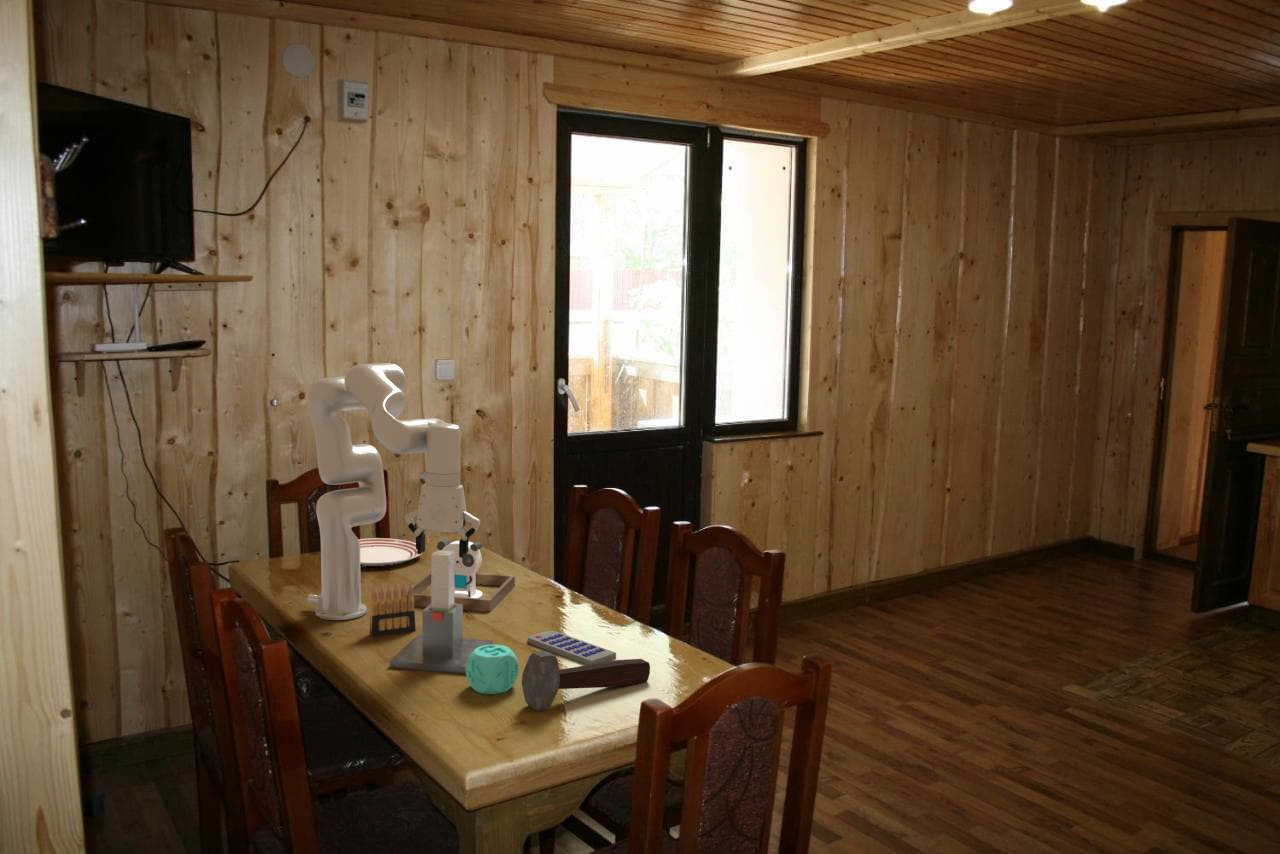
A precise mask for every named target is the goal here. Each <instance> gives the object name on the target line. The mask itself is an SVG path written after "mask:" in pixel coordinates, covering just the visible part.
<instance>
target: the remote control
mask: <svg viewBox="0 0 1280 854" xmlns="http://www.w3.org/2000/svg"><path fill="white" fill-rule="evenodd" d="M527 643H529V644H530V645H532V646H535V647H537V648H540V649H543V650H545V651H547V652H550V653H552V654H555V655H556V654H557V655H559V656H561V657H565V658H567V659H571V660H573V661H576V662H578V663H581V664H583V665H591V664H597V663H603V662H609V661H613V660H614V659H615V660H616V658H617V652H615V651H612V650H610V649H607V648H604V647H601V646H598V645H595V644H593V643H589V642H587V641H584V640H581V639H579V638H575V637H573V636H570V635H567V634H564V633H562V632H558V631H555V630H544V631H542V632H539V633H536V634H532V635H529V636H528V637H527Z"/></svg>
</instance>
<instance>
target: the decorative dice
mask: <svg viewBox="0 0 1280 854" xmlns="http://www.w3.org/2000/svg"><path fill="white" fill-rule="evenodd" d="M519 668H520V666H519V661H518V658H517V656H516V654H515V652H514V651H513V650H512V649H511V648H510V647H509V646H506V645H503V644H502V645H501V644H493V645H484V646H480V647H478V648H476V649H475V650H474V651H473V652H472V653H471V655H470V656H469V658H468V660H467V664H466V674H465V676H466V679H467V682H468V684H469V686H470V687H471V688H472V689H473V690H474V691H475V692H477V693H480V694H484V695H499V694H503V693H506V692H507V691H509V690H510V689H511V688H512V687H513V686H514V684H515V683H516V681H517V679H518V677H519V676H518V675H519V671H520V669H519Z"/></svg>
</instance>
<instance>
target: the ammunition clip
mask: <svg viewBox="0 0 1280 854" xmlns="http://www.w3.org/2000/svg"><path fill="white" fill-rule="evenodd" d="M412 585H413V583H412V582H409V584H408V588H407V589H408V599H406V590H407V589H406V585H405V583H404V582H403V583H402V584H401V587H400V594H399V587H398V584H397V583H396V584H395V585H394V587H393V597H392V588H391V586H390V584H387V587H386V595H385V591H384V587H383V585H380V586H379V587H380V588H379V590H378V591H379V592H377V588H376V586H373V587H372V591H371V603H370V618H369V619H370V621H369V635H370V636H371V637H372V636H374V637H380V636H388V635H395V634H404V633H411V632H416V611H415V606H414V596H413V586H412ZM377 593H378V594H377ZM399 595H400V597H399ZM385 599H386V600H385Z"/></svg>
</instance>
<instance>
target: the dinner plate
mask: <svg viewBox="0 0 1280 854" xmlns="http://www.w3.org/2000/svg"><path fill="white" fill-rule="evenodd" d="M358 540H359V543H360V565H363V566H362V567H366V566H381V567H386V566H385V565H390V566H393V565H392V564H395V565H399V564H402V563H405V562H409V561H410V560H414V559H415V558H418V557H419V556H421V555H422V554H423V553H421V554H417V549H416V542H413V541H410V540H403V539H397V538H386V537H385V538H384V537H383V538H382V537H381V538H380V537H374V538H370V537H369V538H360V539H359V538H358ZM372 546H373V547H372ZM398 563H399V564H398Z"/></svg>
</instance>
